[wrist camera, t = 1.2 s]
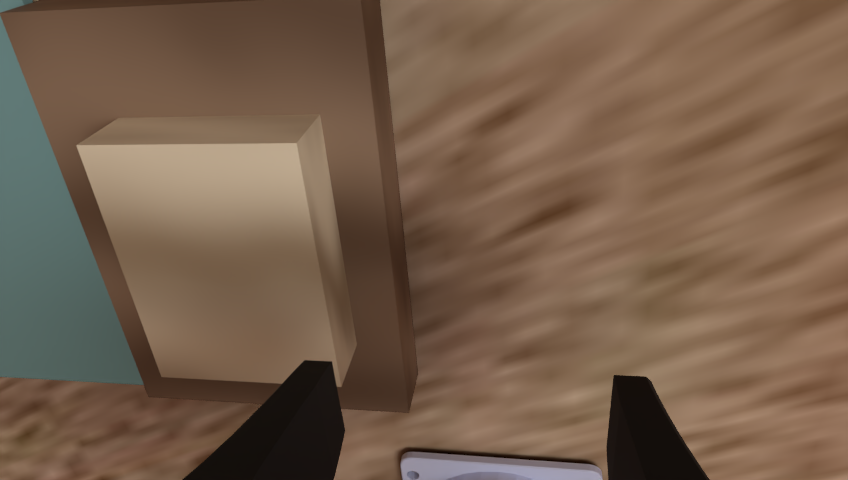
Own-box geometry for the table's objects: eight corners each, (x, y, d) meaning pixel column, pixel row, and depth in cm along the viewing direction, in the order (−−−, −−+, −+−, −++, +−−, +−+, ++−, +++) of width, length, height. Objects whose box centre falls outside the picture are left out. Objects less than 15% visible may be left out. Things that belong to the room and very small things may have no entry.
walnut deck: (418, 374, 25) (408, 412, 23) (173, 361, 26) (148, 396, 25) (377, -19, 18) (360, -5, 16) (46, -2, 19) (-2, 12, 18)
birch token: (357, 344, 22) (341, 386, 20) (189, 337, 23) (161, 377, 21) (319, 114, 18) (296, 143, 16) (118, 118, 19) (75, 145, 17)
